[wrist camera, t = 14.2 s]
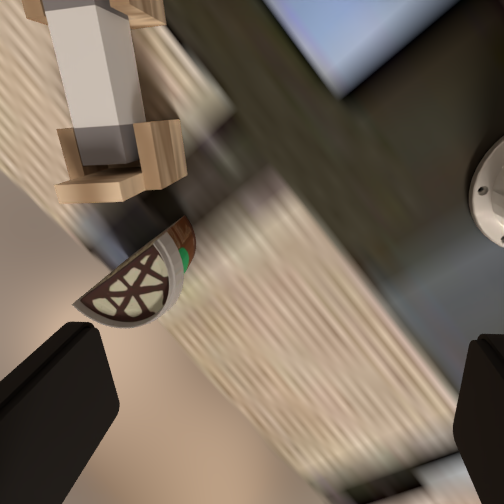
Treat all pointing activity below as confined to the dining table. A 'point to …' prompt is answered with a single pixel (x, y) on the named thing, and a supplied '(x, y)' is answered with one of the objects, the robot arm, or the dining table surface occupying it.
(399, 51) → the dining table surface
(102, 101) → the bed rail
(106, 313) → the food container
